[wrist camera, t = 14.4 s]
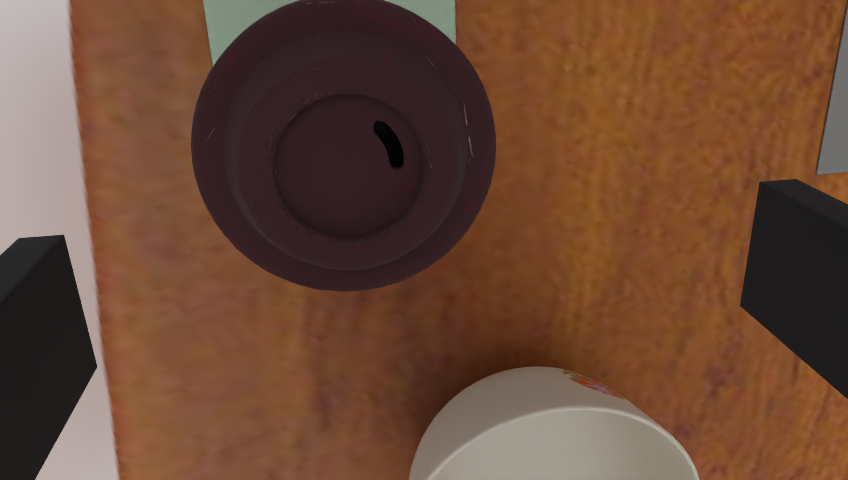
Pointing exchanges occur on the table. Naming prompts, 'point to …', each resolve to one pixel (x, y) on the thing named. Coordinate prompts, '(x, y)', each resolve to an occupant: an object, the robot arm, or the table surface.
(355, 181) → the coffee cup
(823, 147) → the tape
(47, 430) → the robot arm
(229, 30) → the mat
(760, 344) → the table surface
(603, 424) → the bowl
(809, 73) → the table surface
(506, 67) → the table surface
